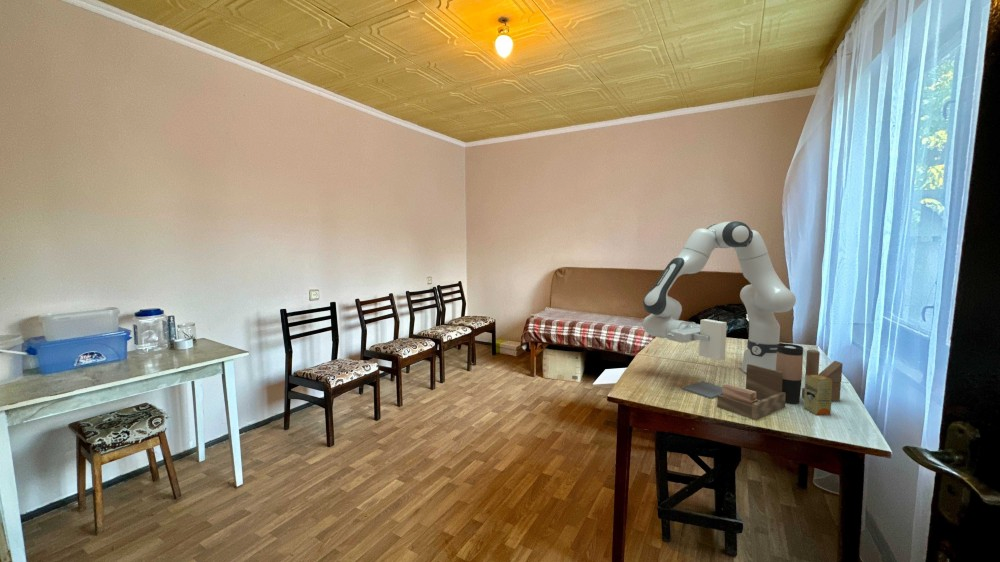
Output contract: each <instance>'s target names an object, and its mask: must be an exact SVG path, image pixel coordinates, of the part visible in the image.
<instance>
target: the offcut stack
mask: <svg viewBox="0 0 1000 562" xmlns="http://www.w3.org/2000/svg"><path fill="white" fill-rule="evenodd" d="M721 387H722V393H723V395H722V396H725V397H728V398H731V399H734V400H737V401H740V402H743V403H747V404H750V405H752V404H753V403H755V402H758V401H759V400H757V399H756V392H755V391H752V390H748V389H746V387H745V388H744V387H741V386H738V385H734V384H730V383H727V384H724V385H722V386H721Z"/></svg>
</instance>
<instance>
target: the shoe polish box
mask: <svg viewBox="0 0 1000 562" xmlns="http://www.w3.org/2000/svg"><path fill="white" fill-rule="evenodd" d="M832 385H833V380H832V379H830V378H827V377H825V376H822V375H806V380H805V379H804V388H805V395H804V398H803V410H804V409H805V411H806V410H807V411H806V412H808V411H809V412H808V413H810V414H813V416H814V415H815V416H827V415H826V414H830V415H831V412H832V411H831V409H832V401H831V399H832Z"/></svg>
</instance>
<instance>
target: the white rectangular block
mask: <svg viewBox="0 0 1000 562" xmlns="http://www.w3.org/2000/svg"><path fill="white" fill-rule="evenodd" d="M727 323H728V322H726V321H720V320H719V321H718V320H716V319H715V320H714V319H708V318H707V319H706V318H704V319H700V335H706V336H709V337H710V338H709V339H710V340H709V341H704V340H699V350H698V356H699V357H704V358H707V359H711V360H712V359H713V360H715V361H723V360H725V358H726V346H727V345H726V343H727V341H726V340H727V326H728V325H727Z"/></svg>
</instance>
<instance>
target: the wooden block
mask: <svg viewBox="0 0 1000 562" xmlns="http://www.w3.org/2000/svg"><path fill="white" fill-rule="evenodd" d="M820 355H821V354H820V351H819V350H815V349H807V350H806V361H805V362H806V365H805V378H804V381H805V380H806V375H822V376H825V377H827V378H830V379H832V380H833V385H832V399H831V402H833V401H839V402H840V400H841V389H842V386H841V385H842V384H841V383H842V376H843V375H842V374H843V363H842V362H840V361H837V360H834V361H832V362H831V363H830V364H828V366H827V367H825V368H824V369H823V370H822V371H820V370H819V368H820V367H819V366H820ZM819 371H820V372H819ZM804 395H805V387H803V388H802V387H801V397H802V399H804Z"/></svg>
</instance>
